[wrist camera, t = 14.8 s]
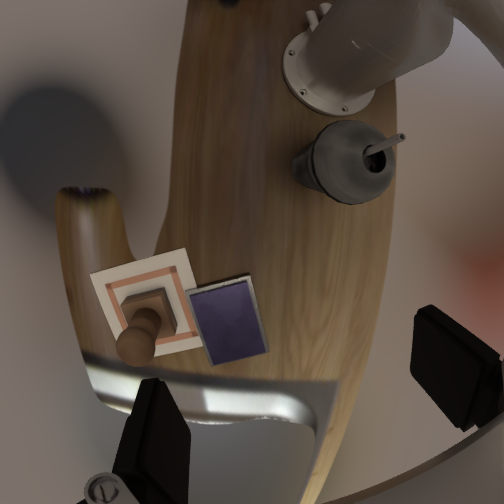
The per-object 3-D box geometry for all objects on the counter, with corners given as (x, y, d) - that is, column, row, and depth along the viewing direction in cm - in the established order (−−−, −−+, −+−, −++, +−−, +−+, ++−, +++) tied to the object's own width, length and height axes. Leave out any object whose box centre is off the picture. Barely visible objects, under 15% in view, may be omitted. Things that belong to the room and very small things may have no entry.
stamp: (126, 296, 34) (96, 338, 24) (164, 286, 35) (145, 327, 24) (141, 332, 36) (119, 382, 25) (177, 324, 36) (166, 374, 25)
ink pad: (185, 289, 35) (184, 294, 34) (248, 272, 36) (250, 276, 34) (211, 362, 38) (211, 369, 36) (268, 348, 39) (270, 354, 37)
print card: (90, 273, 33) (89, 275, 33) (185, 247, 34) (184, 248, 34) (126, 360, 37) (126, 362, 36) (215, 342, 37) (215, 343, 37)
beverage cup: (302, 210, 35) (398, 240, 16) (267, 160, 33) (334, 129, 14) (347, 177, 35) (466, 177, 15) (315, 128, 33) (416, 78, 14)
